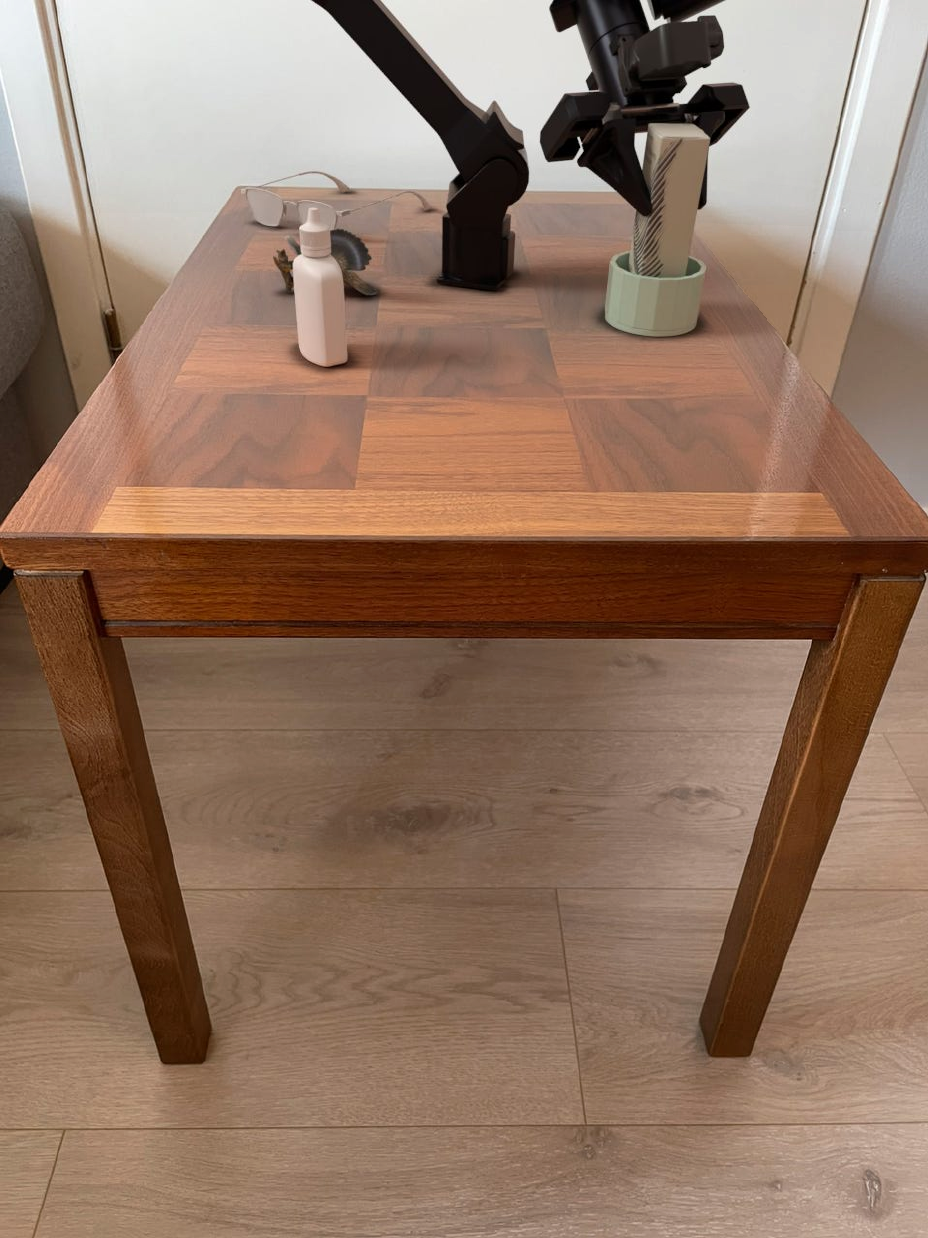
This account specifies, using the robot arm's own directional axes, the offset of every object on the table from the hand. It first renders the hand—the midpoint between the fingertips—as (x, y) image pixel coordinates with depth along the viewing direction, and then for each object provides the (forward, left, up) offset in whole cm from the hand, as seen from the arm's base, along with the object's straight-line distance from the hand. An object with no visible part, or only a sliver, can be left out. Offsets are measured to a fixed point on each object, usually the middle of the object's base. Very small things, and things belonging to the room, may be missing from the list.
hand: (675, 210), depth 85 cm
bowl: (-1, +1, -10) cm, 10 cm away
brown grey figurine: (-32, -4, -10) cm, 34 cm away
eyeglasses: (-42, +22, -10) cm, 48 cm away
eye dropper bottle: (-26, -18, -10) cm, 33 cm away
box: (-1, +1, -7) cm, 7 cm away
